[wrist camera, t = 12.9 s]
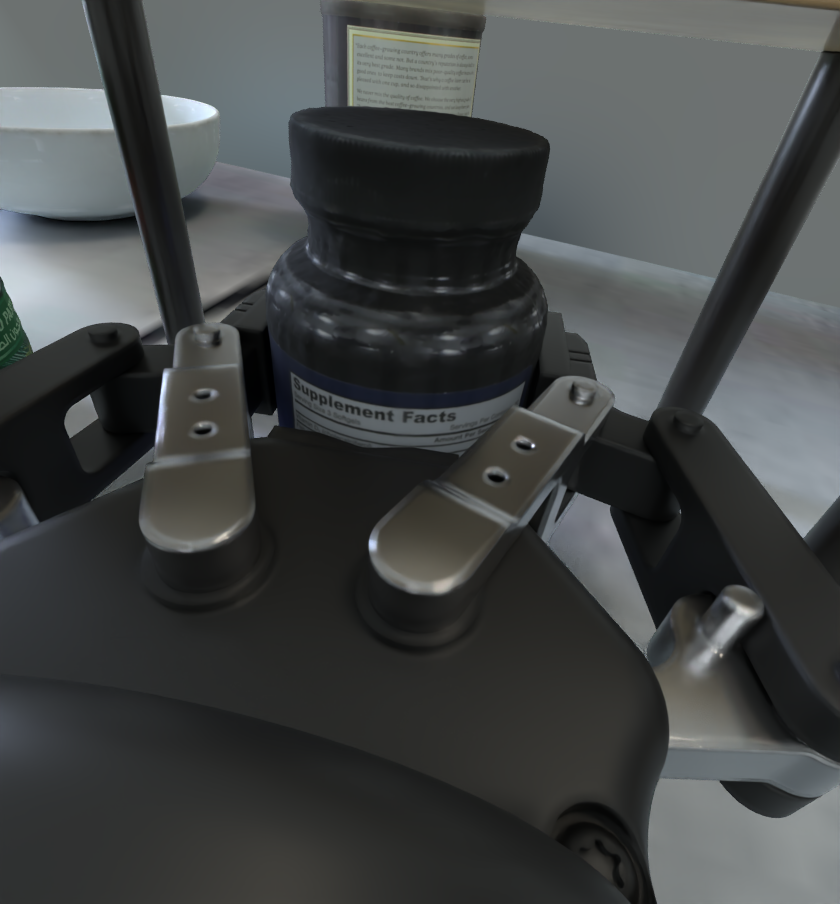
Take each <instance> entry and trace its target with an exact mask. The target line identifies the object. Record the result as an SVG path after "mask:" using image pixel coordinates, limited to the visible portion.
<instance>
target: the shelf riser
mask: <svg viewBox="0 0 840 904" xmlns="http://www.w3.org/2000/svg"><path fill="white" fill-rule="evenodd" d="M352 1H361V2H370V3H379V4H389V5H398V6H407V7H416V8H425V9H434V10H444V11H453V12H462V13H471V14H480V15H490V16H499V17H508V18H517V19H526V20H536V21H544V22H553V23H563V24H572V25H581V26H590V27H600V28H609V29H618V30H627V31H636V32H646V33H654V34H664V35H673V36H682V37H691V38H700V39H710V40H718V41H728V42H738V43H746V44H755V45H765V46H774V47H783V48H792V49H801V50H810V51H819V52H821V53H820V55H819V58H818V60H817V62H816V64H815V67H814V68H813V71H812V73H811V75H810V77H809V79H808V81H807V84H806V86H805V88H804V90H803V92H802V95H801V97H800V99H799V101H798V103H797V105H796V108H795V110H794V112H793V114H792V116H791V118H790V121H789V123H788V125H787V127H786V129H785V132H784V134H783V136H782V138H781V140H780V142H779V144H778V147H777V149H776V151H775V153H774V155H773V157H772V160H771V162H770V164H769V166H768V168H767V170H766V172H765V175H764V177H763V179H762V181H761V183H760V185H759V188H758V190H757V192H756V195H755V196H754V198H753V201H752V203H751V205H750V207H749V209H748V212H747V214H746V216H745V218H744V220H743V222H742V225H741V227H740V229H739V231H738V233H737V235H736V238H735V240H734V242H733V244H732V246H731V248H730V250H729V253H728V255H727V257H726V259H725V261H724V264H723V266H722V268H721V270H720V273H719V274H718V276H717V279H716V281H715V283H714V285H713V287H712V290H711V292H710V294H709V296H708V298H707V300H706V303H705V305H704V307H703V309H702V311H701V313H700V316H699V318H698V320H697V322H696V324H695V326H694V329H693V331H692V333H691V335H690V337H689V339H688V342H687V344H686V346H685V348H684V350H683V352H682V355H681V357H680V359H679V361H678V363H677V365H676V368H675V370H674V372H673V374H672V376H671V378H670V381H669V383H668V385H667V387H666V389H665V391H664V394H663V396H662V398H661V400H660V402H659V404H658V407H657V409H658V408H662V407H679V408H684V409H688V410H691V411H694V412H696V413H698V414H700V415H702V414H703V412H704V410H705V408H706V407H707V405H708V403H709V401H710V399H711V397H712V395H713V393H714V392H715V390H716V388H717V386H718V384H719V382H720V380H721V378H722V377H723V375H724V373H725V371H726V369H727V367H728V365H729V364H730V362H731V360H732V358H733V356H734V354H735V352H736V350H737V349H738V347H739V345H740V343H741V341H742V339H743V337H744V335H745V334H746V332H747V330H748V328H749V326H750V324H751V322H752V321H753V319H754V317H755V315H756V313H757V311H758V309H759V307H760V306H761V304H762V302H763V300H764V298H765V296H766V294H767V293H768V291H769V289H770V287H771V285H772V283H773V281H774V279H775V277H776V275H777V274H778V272H779V270H780V268H781V266H782V264H783V263H784V261H785V259H786V257H787V255H788V253H789V251H790V249H791V248H792V246H793V244H794V242H795V240H796V238H797V236H798V235H799V233H800V231H801V229H802V227H803V225H804V223H805V221H806V220H807V218H808V216H809V214H810V212H811V210H812V208H813V207H814V204H815V203H816V201H817V199H818V197H819V195H820V193H821V192H822V190H823V188H824V186H825V184H826V182H827V180H828V178H829V177H830V174H831V173H832V171H833V169H834V167H835V165H836V163H837V162H838V159H839V158H840V0H352ZM82 4H83V8H84V12H85V16H86V20H87V24H88V28H89V32H90V36H91V40H92V44H93V48H94V52H95V56H96V60H97V64H98V68H99V72H100V76H101V80H102V84H103V88H104V92H105V96H106V100H107V104H108V108H109V112H110V116H111V120H112V124H113V128H114V132H115V136H116V140H117V144H118V148H119V152H120V156H121V160H122V163H123V167H124V171H125V175H126V179H127V183H128V187H129V191H130V195H131V199H132V203H133V207H134V211H135V215H136V219H137V223H138V227H139V231H140V235H141V239H142V243H143V247H144V251H145V255H146V259H147V263H148V267H149V271H150V275H151V279H152V283H153V287H154V291H155V295H156V299H157V303H158V307H159V311H160V315H161V319H162V323H163V327H164V331H165V335H166V339H167V343H168V345H174V344H175V337H176V335H177V333H178V332H179V331H180V330H182V329H184V328H186V327H188V326H191V325H195V324H200V323H205V319H204V314H203V309H202V303H201V298H200V293H199V288H198V283H197V278H196V273H195V267H194V262H193V257H192V252H191V247H190V242H189V236H188V231H187V226H186V221H185V216H184V211H183V206H182V200H181V195H180V190H179V185H178V180H177V175H176V170H175V164H174V159H173V154H172V149H171V144H170V139H169V134H168V128H167V123H166V118H165V113H164V108H163V103H162V98H161V92H160V87H159V82H158V77H157V72H156V67H155V61H154V56H153V51H152V46H151V41H150V36H149V31H148V26H147V21H146V15H145V10H144V5H143V0H82ZM803 539H804V541H805V542H806V543H807V545H808V546H809V547H810V549H811V550H812V551H813V553H814V554H815V555H816V556H817V558H818V559H819V560H820V562H821V563H822V564H823V566H824V567H825V568H826V570H827V571H828V572H829V573H830V575H831V576H832V577H833V579H834V580H835V581H836V583H837V584H838V585H839V587H840V496H839V497H838V498H837V499H836V501H835V502H834V503H833V504H832V505H831V506H830V508H829V509H828V510H827V511H826V512H825V514H824V515H823V516H822V517H821V518H820V519H819V521H818V522H817V523H816V524H815V525H814V527H813V528H812V529H811V530H810V531H809V532H808V534H807V535H806V536H805V537H804V538H803Z"/></svg>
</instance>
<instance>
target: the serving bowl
mask: <svg viewBox="0 0 840 904" xmlns="http://www.w3.org/2000/svg"><path fill="white" fill-rule="evenodd" d="M161 98H162V103H163V108H164V113H165V118H166V123H167V128H168V134H169V139H170V144H171V149H172V154H173V159H174V164H175V170H176V175H177V180H178V185H179V190H180V195H181V198H183V197H185V196H187V195H189V194H190V193H192V192H193V191H195V190H196V189H197V188H198V187H199V186H200V185H201V184H202V183H203V182H204V181H205V180H206V179H207V177H208V176H209V174H210V172H211V171H212V169H213V167H214V165H215V162H216V159H217V155H218V151H219V144H220V114H219V112H218V110H217V109H215V108H214V107H212V106H210V105H208V104H205V103H201V102H198V101H194V100H190V99H184V98H178V97H171V96H165V95H161ZM0 209H2V210H7V211H12V212H17V213H23V214H31V215H39V216H42V217H46V218H51V219H58V220H68V221H100V220H111V219H119V218H126V217H131V216H135V211H134V207H133V203H132V199H131V195H130V191H129V187H128V183H127V179H126V175H125V171H124V167H123V163H122V160H121V156H120V152H119V148H118V144H117V140H116V136H115V132H114V128H113V124H112V120H111V116H110V112H109V108H108V104H107V100H106V96H105V92H104V90H101V89H80V88H79V89H78V88H40V87H39V88H38V87H36V88H35V87H4V88H3V87H2V88H0Z"/></svg>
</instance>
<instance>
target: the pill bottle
mask: <svg viewBox="0 0 840 904" xmlns="http://www.w3.org/2000/svg"><path fill="white" fill-rule="evenodd" d="M289 145H290V155H291V182H290V186H291V188H292V190H293V194H294V196H295V198H296V200H298V202H299V203H300V204H301V206H302V207H303V208H304V210H305V212H306V214H307V216H308V222H309V226H308V236H307V237H304V238H302V239H300V240H298V241H297V242H296V243H294V244H293V245H292V246H291V247H289V249H288V250H287V251H285V252H284V254H282V255H281V257H280V259H279V260H278V261H277V263H276V265H275V266H274V268H273V270H272V272H271V274H270V278H269V280H268V284H267V288H266V292H265V298H266V319H267V324H268V330H269V339H270V348H271V357H272V366H273V375H274V384H275V393H276V403H277V411H278V421H279V426H282V427H288V428H294V429H301V430H307V431H313V432H319V433H322V434H325V435H328V436H331V437H334V438H337V439H340V440H343V441H345V442H348V443H351V444H354V445H357V446H360V447H366V448H385V447H414V448H421V449H427V450H433V451H439V452H446V453H452V454H458V455H459V457H460V456H461V455H462V454H463V453H464V452H465V451H466V450H467V449H468V448H469V447H470V446H472V445H473V444H474V443H475V442H476V441H477V440H478V439H479V438H480V437H481V436H482V435H483V434H484V433H485V432H486V431H487V430H488V429H489V428H490V427H491V426H492V425H493V424H494V423H495V422H496V421H497V420H498V419H499V418H500V417H501V416H502V415H503V414H504V413H505V412H507V411H508V410H509V409H510V408H511V407H512V406H513V405H518V406H520V407H523V408H525V407H526V405H527V399H528V395H529V392H530V387H531V383H532V379H533V376H534V373H535V368H536V364H537V361H538V358H539V355H540V352H541V349H542V344H543V340H544V336H545V330H546V326H547V314H548V304H547V299H546V297H545V294H544V290H543V287H542V285H541V284H540V282H539V279H538V278H537V276H536V274H535V273H534V272H533V271H532V269H530V268H529V267H528V266H527V264H526V263H524V262H523V261H522V260H521V259H519V258H518V257H516V249H517V245H518V241H519V239H520V236H521V232H522V231H523V229H525V227H526V226H527V225H528V223H529V222H530V220H531V219H532V218H533V215H534V213H535V212H536V211H537V210H538V208H539V205H540V201H541V197H542V191H543V183H544V178H545V172H546V168H547V163H548V159H549V152H550V145H549V142H548V140H547V139H545V138H544V137H543V136H540V135H538V134H536V133H533V132H532V131H529V130H526V129H522V128H519V127H514V126H510V125H507V124H503V123H497V122H494V121H489V120H484V119H480V118H472V117H468V116H458V115H454V114H449V113H439V112H432V111H420V110H410V109H401V108H388V107H384V108H381V107H370V106H361V107H359V106H341V107H328V106H327V107H321V108H308V109H304V110H301V111H298V112H295V113H293V114H292V115H291V117H290V121H289Z"/></svg>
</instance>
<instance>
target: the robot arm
mask: <svg viewBox="0 0 840 904" xmlns="http://www.w3.org/2000/svg"><path fill="white" fill-rule="evenodd" d="M265 292H266V289H262V290H260V291H258V292H255V293H253V294H250V295H249V296H248V297H247V298H246V299H245V300H244V301H243V302H242V304H240V305H238V306H237V307H236V308H235V310H233V311H232V312H231V313H230V314H229V315H228V316H227V317H226V318H225V319H223V320H222V321H221V322H220V323H200V324H195V325H191V326H188V327H186V328H184V329H182V330H180V331H179V332H178V333H177V335H176V337H175V344H174V345H142V342H141V339H140V335H139V331H138V330H137V328H135V327H134V326H131V325H128V324H124V323H100V324H95V325H90V326H87V327H84V328H81V329H79V330H77V331H75V332H73V333H71V334H69V335H67V336H65V337H63V338H61V339H60V340H58V341H56V342H54V343H52V344H50V345H48V346H46V347H44V348H42V349H40V350H38V351H36V352H34V353H32V354H30V355H28V356H26V357H24V358H22V359H21V360H19V361H17V362H15V363H13V364H11V365H9V366H7V367H5V368H3V369H1V370H0V904H657V902H656V898H655V894H654V891H653V886H652V882H651V877H650V871H649V863H648V824H649V816H650V809H651V803H652V799H653V795H654V791H655V788H656V785H657V782H658V780H659V778H669V779H695V780H719V781H720V783H721V784H722V785H723V786H724V788H725V789H726V790H727V791H728V792H729V793H730V794H731V795H732V796H733V797H734V798H735V799H736V800H737V801H738V802H739V803H741V804H742V805H744V806H745V807H747V808H748V809H750V810H752V811H754V812H755V813H758V814H760V815H763V816H767V817H771V818H782V817H786V816H789V815H791V814H792V813H794V812H796V811H797V810H799V809H801V808H802V807H804V806H806V805H807V804H809V803H810V802H812V801H814V800H815V799H817V798H819V797H820V796H822V795H823V794H825V793H827V792H829V791H830V790H832V789H834V788H835V787H837V786H838V785H840V587H839V585H838V584H837V583H836V581H835V580H834V579H833V577H832V576H831V575H830V573H829V572H828V571H827V570H826V568H825V567H824V566H823V564H822V563H821V562H820V560H819V559H818V558H817V556H816V555H815V554H814V553H813V551H812V550H811V549H810V547H809V546H808V545H807V543H806V542H805V541H804V539H803V538H802V537H801V536H800V534H799V533H798V532H797V530H796V529H795V528H794V526H793V525H792V524H791V522H790V521H789V520H788V519H787V517H786V516H785V515H784V513H783V512H782V511H781V509H780V508H779V507H778V505H777V504H776V503H775V502H774V500H773V499H772V498H771V496H770V495H769V494H768V492H767V491H766V490H765V488H764V487H763V486H762V485H761V483H760V482H759V481H758V479H757V478H756V477H755V475H754V474H753V473H752V471H751V470H750V469H749V468H748V466H747V465H746V464H745V462H744V461H743V460H742V458H741V457H740V456H739V454H738V453H737V452H736V451H735V449H734V448H733V447H732V445H731V444H730V443H729V441H728V440H727V439H726V437H725V436H724V435H723V434H722V432H721V431H720V430H719V428H718V427H717V426H716V425H715V424H714V423H713V422H712V421H710V420H709V419H708V418H706V417H704V416H702V415H700V414H698V413H696V412H694V411H691V410H688V409H684V408H679V407H662V408H658V409H656V410H655V411H654V412H653V414H652V416H651V418H650V420H649V421H647V420H644V419H641V418H638V417H635V416H631V415H629V414H626V413H624V412H621V411H619V410H618V409H616V408H614V407H613V404H614V402H615V396H614V394H613V392H612V391H611V390H610V389H609V388H608V387H606V386H605V385H603V384H602V383H600V382H598V381H597V379H596V375H595V371H594V367H593V364H592V360H591V356H590V352H589V348H588V344H587V343H586V342H585V341H584V340H583V339H582V338H581V337H580V336H579V335H578V334H576V333H569V332H565V330H564V325H563V319H562V314H561V313H556V312H549V311H548V314H547V326H546V330H545V336H544V340H543V344H542V349H541V352H540V355H539V358H538V361H537V364H536V368H535V373H534V376H533V379H532V383H531V387H530V392H529V395H528V399H527V405H526V407H525V408H523V407H520V406H518V405H513V406H512V407H511V408H510V409H509V410H508V411H507V412H505V413H504V414H503V415H502V416H501V417H500V418H499V419H498V420H497V421H496V422H495V423H494V424H493V425H492V426H491V427H490V428H489V429H488V430H487V431H486V432H485V433H484V434H483V435H482V436H481V437H480V438H479V439H478V440H477V441H476V442H475V443H474V444H473V445H472V446H470V447H469V448H468V449H467V450H466V451H465V452H464V453H463V454H462V455H461V456H460V457H459V455H458V454H452V453H446V452H439V451H433V450H427V449H421V448H414V447H385V448H366V447H360V446H357V445H354V444H351V443H348V442H345V441H343V440H340V439H337V438H334V437H331V436H328V435H325V434H322V433H319V432H313V431H307V430H301V429H294V428H288V427H282V426H274V427H273V429H272V431H271V432H270V434H269V435H268V437H260V438H254V434H253V426H252V419H251V416H252V415H253V414H254V413H259V414H265V415H273V413H274V412H275V410H276V408H277V403H276V393H275V384H274V375H273V366H272V357H271V348H270V339H269V330H268V324H267V319H266V298H265ZM89 394H90V396H91V398H92V401H93V404H94V406H95V409H96V412H97V414H98V417H99V418H98V419H97V420H96V421H94V422H93V423H91V424H90V425H89V426H87V427H86V428H84V429H83V430H82V431H80V432H79V433H77V434H76V435H74V436H73V437H72V438H69V436H68V434H67V431H66V429H65V425H64V420H65V416H66V413H67V411H68V410H69V408H70V407H71V406H73V405H74V404H75V403H77V402H79V401H80V400H82V399H83V398H85V397H86V396H88V395H89ZM154 446H155V447H154ZM153 447H154V455H153V461H152V463H148V464H147V465H146V468H145V473H144V478H143V479H141V480H139V481H136V482H134V483H132V484H129V485H127V486H125V487H122V488H120V489H118V490H115V491H113V492H111V493H108V494H106V495H103V496H101V497H99V498H96V499H94V500H92V499H93V498H94V497H96V496H97V495H98V494H99V493H100V492H101V491H103V490H104V489H105V488H106V487H107V486H108V485H110V484H111V483H112V482H113V481H114V480H115V479H117V478H118V477H119V476H120V475H121V474H122V473H124V472H125V471H126V470H127V469H128V468H129V467H131V466H132V465H133V464H134V463H135V462H136V461H138V460H139V459H140V458H141V457H142V456H143V455H145V454H146V453H147V452H148V451H149V450H150V449H152V448H153ZM579 493H580V494H582V495H585V496H588V497H590V498H593V499H595V500H598V501H600V502H603V503H605V504H608V505H611V507H610V513H611V516H612V519H613V521H614V524H615V526H616V529H617V531H618V534H619V536H620V539H621V541H622V544H623V546H624V549H625V551H626V554H627V556H628V559H629V561H630V564H631V566H632V569H633V571H634V574H635V576H636V579H637V581H638V584H639V586H640V589H641V591H642V594H643V596H644V599H645V601H646V604H647V606H648V609H649V612H650V614H651V617H652V619H653V622H654V624H655V627H656V629H657V630H656V632H655V633H654V635H653V636H652V638H651V639H650V641H649V643H648V647H647V658H648V661H647V659H646V658H645V656H644V655H643V653H642V652H641V651H640V650H639V648H638V647H637V646H636V645H635V643H634V642H633V641H632V640H631V639H630V638H629V637H628V636H627V634H626V633H625V632H624V631H623V630H622V629H621V628H620V627H619V625H618V624H617V623H616V622H615V621H614V620H613V619H612V618H611V616H610V615H609V614H608V613H607V612H606V611H605V610H604V609H603V607H602V606H601V605H600V604H599V603H598V602H597V601H596V600H595V598H594V597H593V596H592V595H591V594H590V593H589V592H588V591H587V590H586V588H585V587H584V586H583V585H582V584H581V583H580V582H579V581H578V579H577V578H576V577H575V576H574V575H573V574H572V573H571V572H570V570H569V569H568V568H567V567H566V566H565V565H564V564H563V563H562V561H561V560H560V559H559V558H558V557H557V556H556V555H555V554H554V552H553V551H552V550H551V549H550V548H549V547H548V546H547V543H548V541H549V539H550V538H551V536H552V534H553V533H554V531H555V530H556V528H557V527H558V525H559V524H560V522H561V520H562V519H563V517H564V516H565V514H566V513H567V511H568V510H569V508H570V506H571V505H572V503H573V502H574V500H575V499H576V497H577V496H578V494H579ZM91 500H92V501H91ZM680 509H681V514H680V512H679V511H680Z"/></svg>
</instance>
